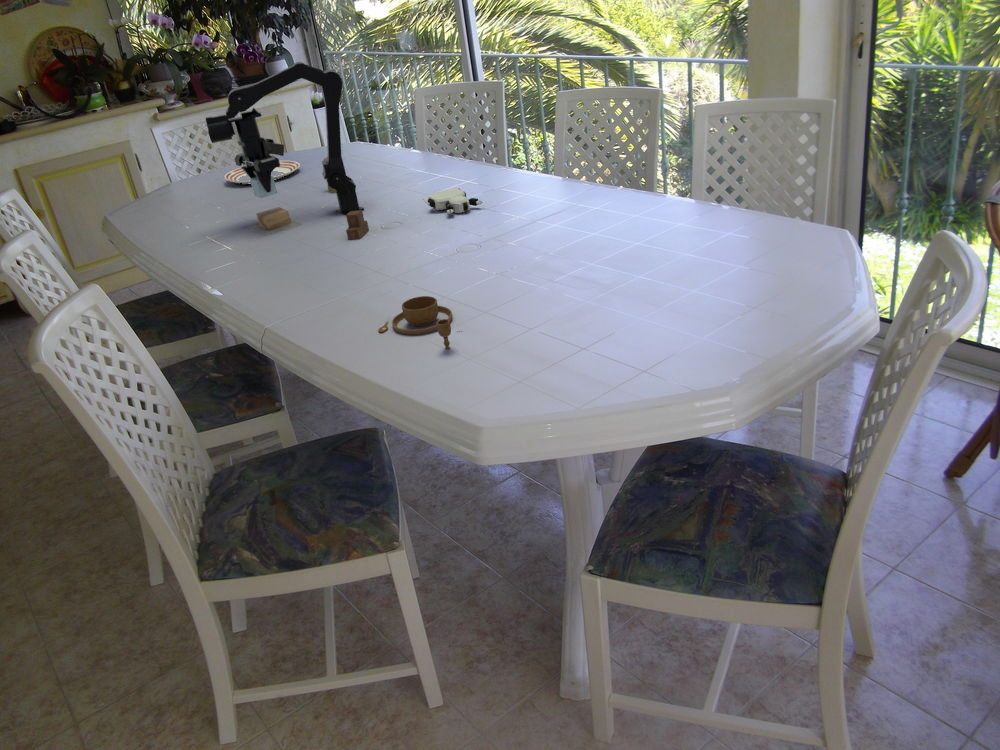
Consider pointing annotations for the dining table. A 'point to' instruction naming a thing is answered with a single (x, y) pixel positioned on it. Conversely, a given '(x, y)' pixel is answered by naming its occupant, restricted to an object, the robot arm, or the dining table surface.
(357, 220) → the stack of crates
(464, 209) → the robot toy
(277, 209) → the tan square block
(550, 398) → the dining table surface
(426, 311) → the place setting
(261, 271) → the dining table surface
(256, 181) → the slate block
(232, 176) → the dinner plate
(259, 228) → the mat
